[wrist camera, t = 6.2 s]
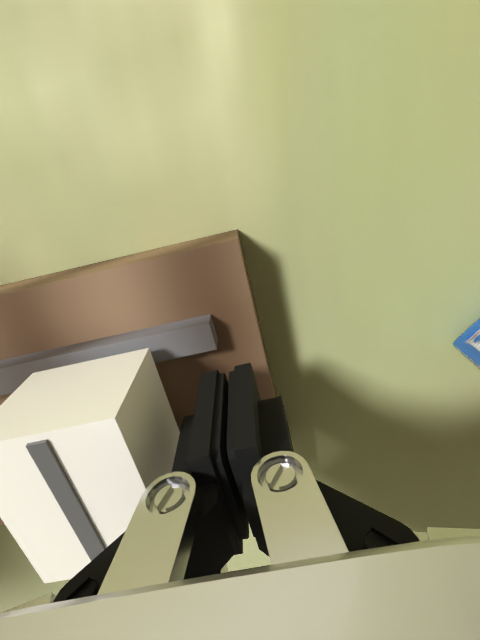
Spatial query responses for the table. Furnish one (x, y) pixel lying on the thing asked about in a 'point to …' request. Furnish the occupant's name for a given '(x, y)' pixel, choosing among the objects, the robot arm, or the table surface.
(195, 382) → the fader console
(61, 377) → the fader knob
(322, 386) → the table surface
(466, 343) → the stack of blocks
